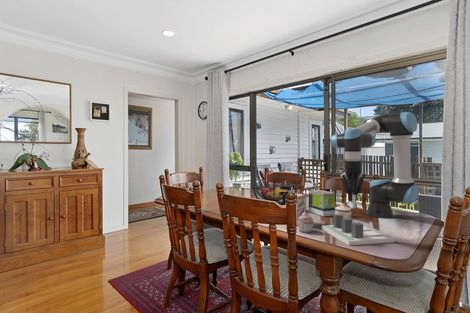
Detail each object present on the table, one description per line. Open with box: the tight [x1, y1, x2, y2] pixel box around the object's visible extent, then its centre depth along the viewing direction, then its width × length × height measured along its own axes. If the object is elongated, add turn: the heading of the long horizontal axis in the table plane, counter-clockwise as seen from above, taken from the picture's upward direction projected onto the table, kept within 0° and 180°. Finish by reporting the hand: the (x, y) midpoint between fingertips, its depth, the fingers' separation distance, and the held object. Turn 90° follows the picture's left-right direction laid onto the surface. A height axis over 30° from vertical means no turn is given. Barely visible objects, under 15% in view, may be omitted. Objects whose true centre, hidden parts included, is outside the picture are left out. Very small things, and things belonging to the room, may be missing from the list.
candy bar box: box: [296, 193, 308, 220], centre depth 155 cm, size 11×5×16 cm, turn 135°
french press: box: [278, 176, 293, 205], centre depth 188 cm, size 12×9×23 cm
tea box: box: [308, 189, 336, 217], centre depth 179 cm, size 15×10×15 cm, turn 23°
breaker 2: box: [351, 221, 364, 237], centre depth 126 cm, size 4×3×6 cm
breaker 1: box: [332, 214, 343, 227], centre depth 141 cm, size 4×3×6 cm
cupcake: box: [296, 211, 315, 234], centre depth 141 cm, size 9×9×10 cm
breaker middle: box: [342, 218, 354, 232], centre depth 134 cm, size 4×3×6 cm
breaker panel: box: [321, 223, 396, 246], centre depth 135 cm, size 24×24×2 cm
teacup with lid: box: [335, 203, 353, 219], centre depth 155 cm, size 12×9×12 cm
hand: (352, 207), depth 134 cm, fingers closed
